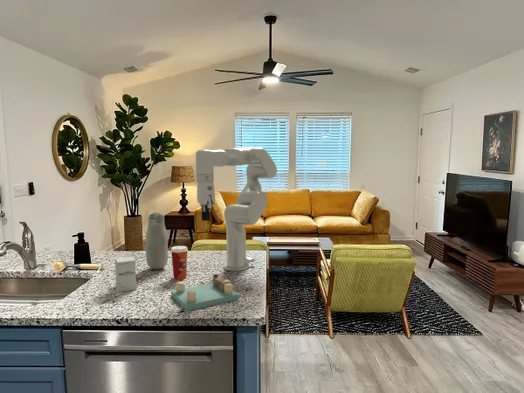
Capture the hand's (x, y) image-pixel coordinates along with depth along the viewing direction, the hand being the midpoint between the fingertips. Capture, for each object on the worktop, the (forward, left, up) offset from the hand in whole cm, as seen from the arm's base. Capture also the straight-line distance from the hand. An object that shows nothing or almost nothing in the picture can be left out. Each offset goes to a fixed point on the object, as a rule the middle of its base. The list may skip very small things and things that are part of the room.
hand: (205, 220), depth 161 cm
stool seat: (+9, +19, -27) cm, 34 cm away
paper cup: (+9, -10, -27) cm, 30 cm away
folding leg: (+1, +18, -25) cm, 30 cm away
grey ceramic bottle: (+14, -29, -27) cm, 42 cm away
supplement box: (+33, -8, -27) cm, 44 cm away
